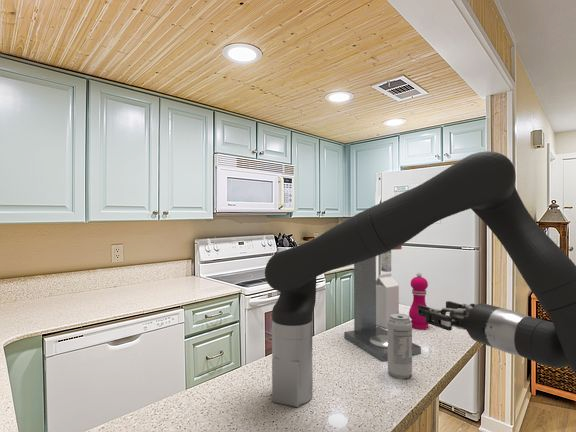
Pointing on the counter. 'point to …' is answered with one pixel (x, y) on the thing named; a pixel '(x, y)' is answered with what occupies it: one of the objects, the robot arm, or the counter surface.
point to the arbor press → (370, 309)
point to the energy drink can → (399, 345)
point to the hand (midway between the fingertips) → (433, 307)
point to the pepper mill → (418, 301)
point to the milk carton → (386, 299)
